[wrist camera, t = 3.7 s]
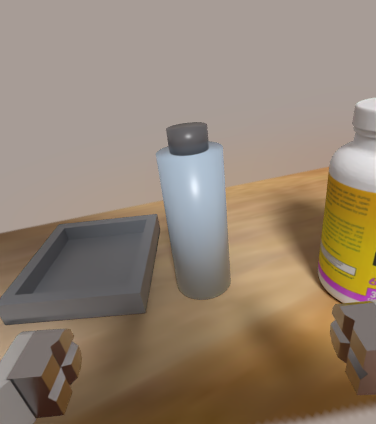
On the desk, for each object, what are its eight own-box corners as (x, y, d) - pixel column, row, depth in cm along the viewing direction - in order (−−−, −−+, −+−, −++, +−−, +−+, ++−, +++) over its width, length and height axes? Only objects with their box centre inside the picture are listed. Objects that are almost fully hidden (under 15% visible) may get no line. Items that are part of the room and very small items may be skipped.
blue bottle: (176, 301, 22) (148, 138, 17) (178, 266, 26) (155, 124, 21) (234, 297, 22) (225, 129, 16) (227, 261, 26) (218, 117, 20)
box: (5, 324, 22) (-6, 306, 22) (64, 239, 33) (58, 224, 32) (145, 312, 22) (140, 292, 21) (160, 229, 32) (157, 213, 31)
